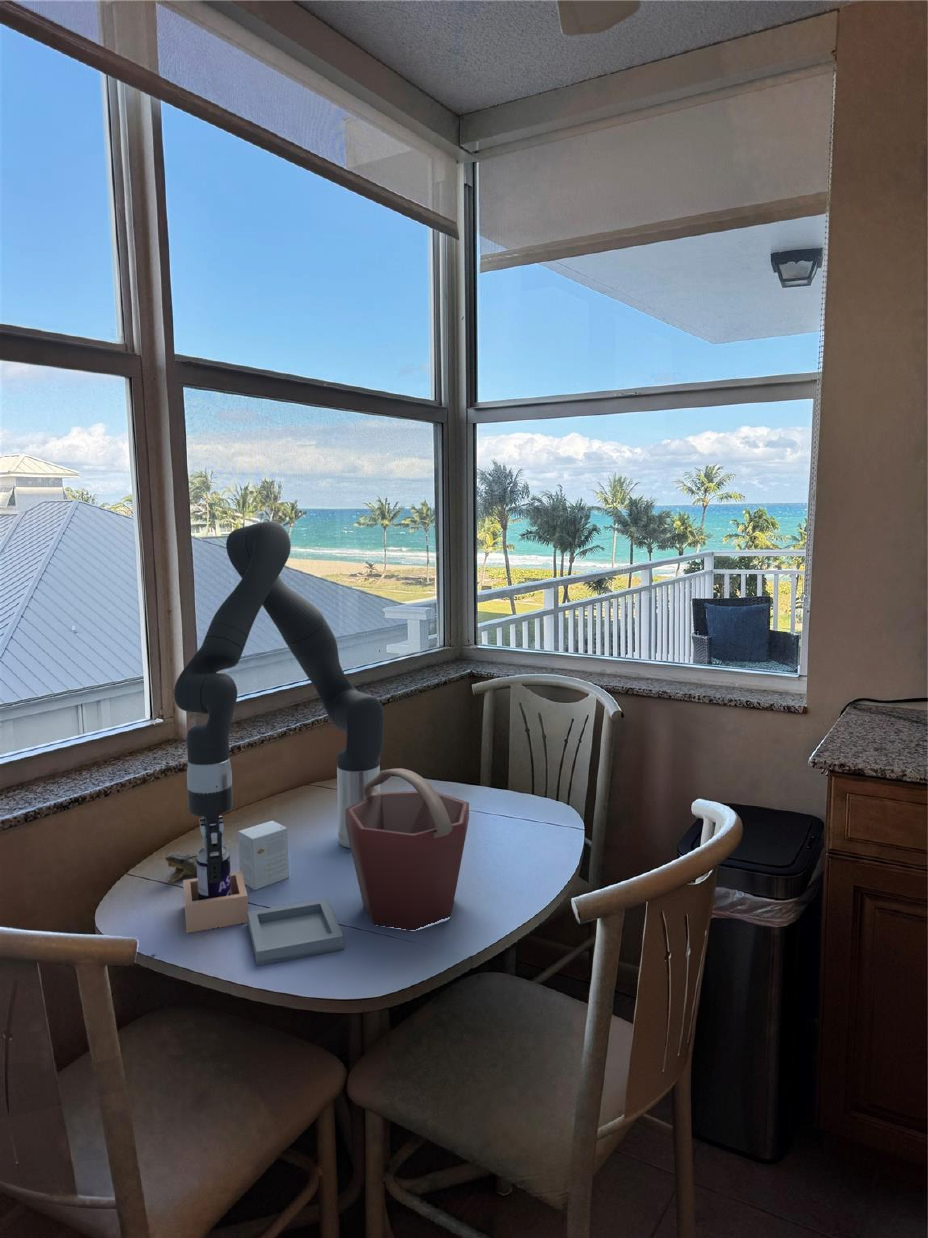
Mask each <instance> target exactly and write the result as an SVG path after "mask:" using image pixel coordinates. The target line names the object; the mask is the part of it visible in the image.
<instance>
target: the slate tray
mask: <svg viewBox="0 0 928 1238" xmlns="http://www.w3.org/2000/svg"><path fill="white" fill-rule="evenodd" d="M247 916H248V923H247V927H248V928H247V929H248V931H249V935H250V940H251V945H252V950H253V955H254V958H255V962H256V966H257V967H258V966H264V965H269V964H274V963H279V962H286V961H290V960H295V959H300V958H301V959H302V958H306V957H311V956H316V955H321V954H326V953H327V954H328V953H332V952H338V951H342V950H344V949H345V948H344V946H345V945H344V944H345V943H344V933H343V932H342V930H341V928H340V925H339V923H338V920H337V919H336V916H335V914H334V912H333V909H332V907H331V905H330V902H329V901H328V899H327V898H323V899H322V898H321V899H317V900H310V901H305V902H298V903H293V904H286V905H280V906H274V907H269V908H262V909H257V910H252V911H251V910H249V911H248V912H247Z"/></svg>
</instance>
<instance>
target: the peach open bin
mask: <svg viewBox="0 0 928 1238" xmlns="http://www.w3.org/2000/svg"><path fill="white" fill-rule="evenodd" d="M230 873H231V895H230V896H223V897H217V898H211V899H205V900H198V879H197V877H196V878H190V879H183V881H182V884H183V887H182V889H183V902H184V903H183V905H184V908H183V909H184V917H185V918H184V920H185V931H186V932H185V933H186V934H190V933H196V932H201V931H207V930H212V928H214V929H218V928H217V927H219V928H224V927H229V926H235V925H242V924H241V923H243V924H248V916H247V912H249V902H248V900H249V899H248V898H249V897H248V896H249V895H248V892H247V888H246V885H245V884H244V879H243V875H242V871H241V872H240V871H235V872H230Z"/></svg>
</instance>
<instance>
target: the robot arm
mask: <svg viewBox="0 0 928 1238" xmlns="http://www.w3.org/2000/svg"><path fill="white" fill-rule="evenodd" d="M291 545H292V543H291V538H290V536H289V532H288V531H287V530H286V528H285V527H284V526H283V525H282V524H281V523H279V522H277V521H271V520H269V521H268V520H267V521H263V522H257V523H254V524H249V525H246V526H242V527H239V528H236V529H234V530H232V531H231V532H230V533H229V534H228V536H227V538H226V541H225V547H226V553H227V556H228V559H229V561H230V563H231V565H232V566H233V568H234V569H235V571H236V572H237V574H238V575H239V576H240V577H241V579H240V581H239V583H238V584H237V585H236V587H235V588H234V589H233V590H232V591H231V593H230V594H229V595H228V596H227V598H226V599H225V600H224V601H223V603H222V604H221V605H220V607H219V608H218V609H217V611H216V612H215V614H214V615H213V617H212V620H211V621H210V624H209V627H208V630H207V631H206V635H205V637H204V639H203V642H202V644H201V645H200V648H198V650H197V651H196V653H195V654H194V655H193V656H192V658H191V659H190V661H189V662H188V663H187V665H186V666H185V667H184V669H183V670H182V671H181V673H180V674H179V676H178V678H177V680H176V683H175V685H174V687H173V688H174V689H173V690H174V691H173V699H174V701H175V704H176V705H177V707H178V708H179V709H180V710H182V711H183V712H186V713H187V712H189V713H199V714H200V713H201V714H208V721H207V723H203V724H197V725H195V726H193V727H191V728H190V729H189V730H188V731H187V735H186V750H187V754H186V755H187V768H186V769H187V770H186V781H187V783H186V784H187V804H188V807H187V808H188V812H189V813H190V814H192V815H193V816H196V817H197V816H198V817H202V818H199V830H200V833H201V840H202V848H203V849H204V850H206V853H207V859H206V862H207V864H208V880H209V883H211V884H212V883H218V882H221V880H222V875H221V862H222V860H223V857H222V847H223V846H224V841H225V840H224V830H225V823H224V820H223V815H222V814H225V813H227V812H229V811H230V810H231V809H232V808H233V806H234V805H233V804H234V799H233V776H232V774H233V773H232V765H231V759H230V739H229V736H230V731H231V730H230V729H231V727H232V720H233V716H234V712H235V710H236V709H235V708H236V704H237V699H238V688H237V684H236V683H235V681H234V679H233V678H232V677H231V675H229V674H226V673H218V672H221V671H223V670H227V669H228V670H229V669H231V668H234V667H236V666H237V665H238V664H239V661H240V660H241V657H242V655H243V652H244V649H245V647H246V644H247V642H248V638H249V635H250V632H251V629H252V628H253V625H254V623H255V620H256V618H257V616H258V614H259V612H260V610H261V608H262V607H263V608H264V610H265V611H266V613H267V615H268V616H269V617H270V619H271V621H272V622H273V624H274V625H275V626H276V628H277V630H278V632H279V633H280V635H281V637H282V639H283V641H284V642H285V643H286V645H287V648H288V649H289V651H290V652H291V653H292V655H293V656H294V658H295V659H296V662H298V664H299V665H300V667H301V669H302V670H303V672H304V673H305V675H306V676H307V678H308V679H309V681H310V682H311V684H312V685H313V687H314V689H315V691H316V692H317V695H318V696H319V699H320V700H321V704H322V705H323V707H324V710H325V712H326V714H327V716H328V718H329V720H330V722H331V723H332V725H333V726H334V727H336V728H337V729H338V730H340V731H341V732H343V733H346V741H345V742H346V743H345V744H346V745H345V748H344V749H342V750H340V751H338V753H337V755H336V775H337V776H336V777H337V778H336V779H337V783H336V784H337V822H338V823H337V825H338V828H337V829H338V830H337V831H338V832H337V833H338V834H337V836H338V843H339V845H340V846H342V847H344V848H348V849H351V847H350V842H349V838H348V833H347V829H346V818H345V809H347V808H349V807H351V806H353V805H355V804H357V803H359V802H361V801H363V800H365V799H366V798H365V796H364V793H363V787H364V785H366V784H367V783H368V782H369V781H371V780H372V779H373V778H375V777H376V776H377V775H378V774H379V773H380V772H381V769H380V767H381V763H380V761H381V755H382V753H383V749H384V733H385V732H384V731H385V730H384V729H385V714H384V713H385V712H384V709H383V705H382V703H381V701H380V700H379V699H378V698H377V697H375V696H374V695H370V694H367V693H364V692H361V691H359V690H358V689H356V687H354V686H353V684H352V683H351V681H350V680H349V679H348V677H347V675H346V674H345V672H344V671H343V668H342V666H341V662H340V658H339V649H338V644H337V640H336V637H335V634H334V632H333V630H332V629H331V626H329V624H328V622H327V621H326V618H325V617H324V615H323V614H322V613H321V611H320V610H319V609H318V608H317V607H316V606H315V605H314V604H313V603H311V602H310V601H309V600H308V599H306V598H305V597H303V596H302V595H300V594H299V593H298V592H297V591H295V590H294V589H292V588H291V587H290V586H289V585H288V584H286V583H285V581H284V580H283V579H281V577H280V574H281V572H282V571H283V569H284V567H285V566H286V563H287V562H288V559H289V557H290V555H291V548H292V547H291ZM374 787H375V789H376V791H377V792H378V793H381V784H379V785H376V786H374ZM224 847H225V846H224ZM212 852H218V855H216V856H210V853H212Z"/></svg>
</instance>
